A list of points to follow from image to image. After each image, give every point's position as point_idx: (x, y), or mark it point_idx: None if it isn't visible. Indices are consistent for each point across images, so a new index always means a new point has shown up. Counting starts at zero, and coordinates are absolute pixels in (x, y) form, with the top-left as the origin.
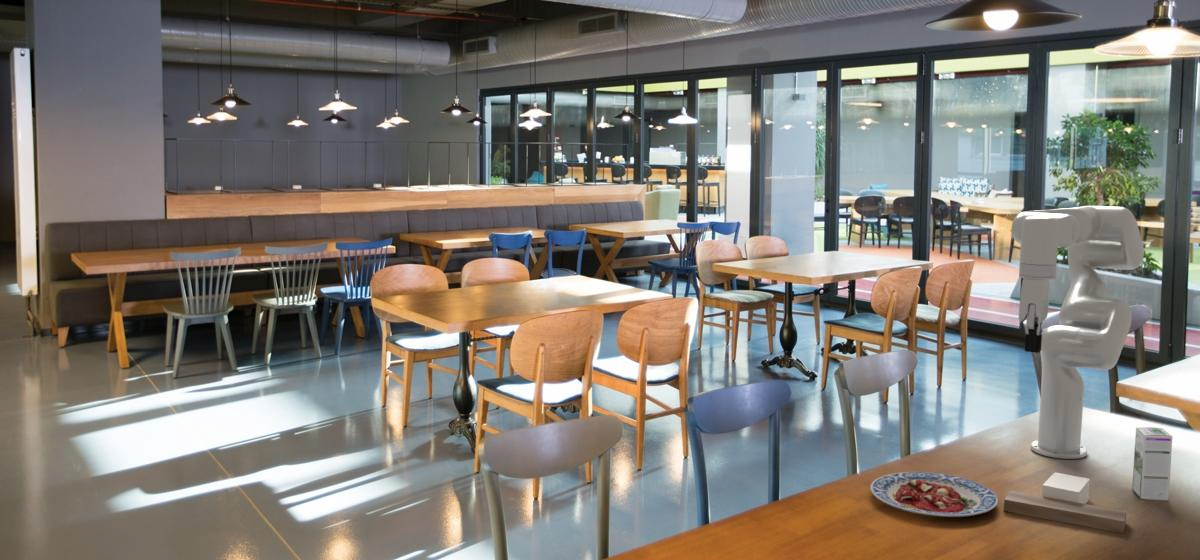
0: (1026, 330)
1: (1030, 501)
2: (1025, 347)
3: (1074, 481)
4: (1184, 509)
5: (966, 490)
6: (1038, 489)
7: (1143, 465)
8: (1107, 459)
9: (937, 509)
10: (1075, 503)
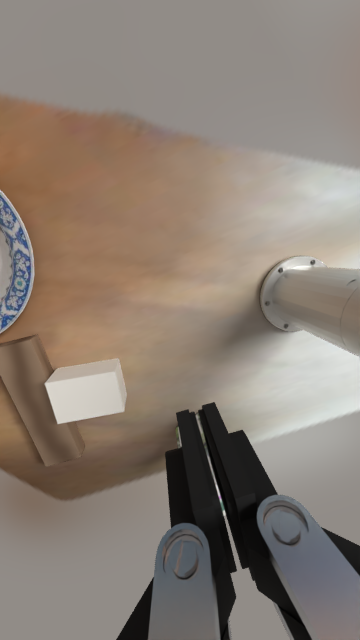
0: (154, 592)
1: (12, 376)
2: (180, 426)
3: (96, 403)
4: None
5: (8, 280)
6: (117, 339)
7: None
8: (298, 351)
9: None
10: None
